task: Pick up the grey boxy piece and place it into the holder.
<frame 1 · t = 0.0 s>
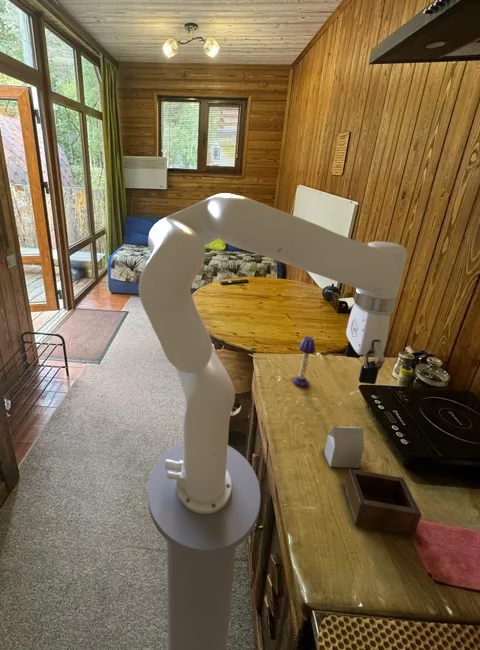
hand: (359, 368, 70), 23 cm above the kitchen counter, tool pointing down, fingers open, 9 cm apart
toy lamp: (301, 383, 101), on the kitchen counter
grey boxy piece: (341, 460, 74), on the kitchen counter
holder: (376, 510, 63), on the kitchen counter
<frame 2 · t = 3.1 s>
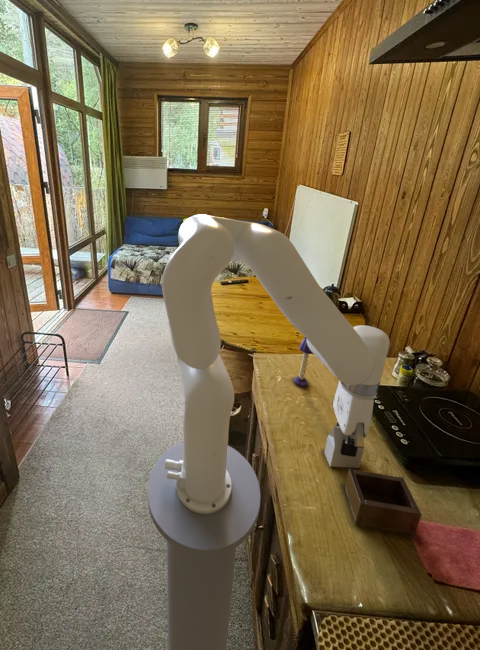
hand: (344, 445, 73), 5 cm above the kitchen counter, tool pointing down, fingers closed on grey boxy piece, 4 cm apart
grey boxy piece: (341, 460, 74), on the kitchen counter, touching gripper
everything else where it was.
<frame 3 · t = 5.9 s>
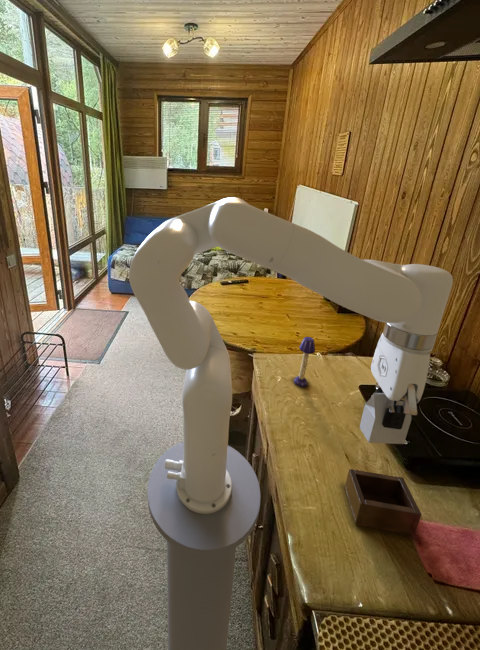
hand: (386, 416, 60), 21 cm above the kitchen counter, tool pointing down, fingers closed on grey boxy piece, 4 cm apart
grey boxy piece: (380, 436, 61), point 16 cm above the kitchen counter, touching gripper
everything else where it was.
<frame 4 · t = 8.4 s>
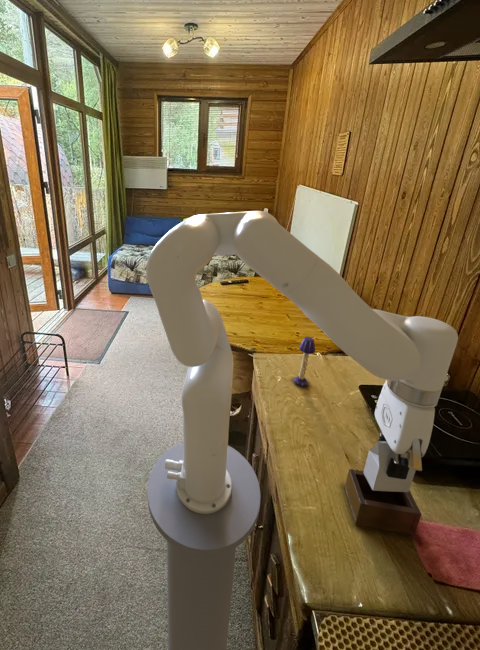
hand: (390, 464, 59), 13 cm above the kitchen counter, tool pointing down, fingers closed on grey boxy piece, 4 cm apart
grey boxy piece: (385, 482, 61), point 8 cm above the kitchen counter, touching gripper
everything else where it was.
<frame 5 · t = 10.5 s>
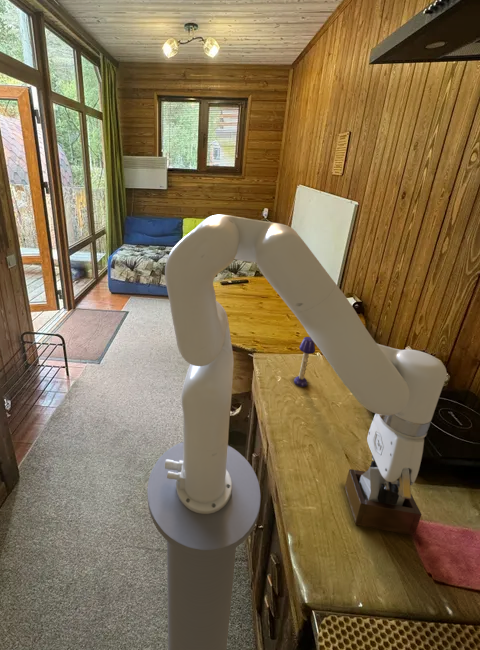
hand: (381, 488, 61), 6 cm above the kitchen counter, tool pointing down, fingers closed on grey boxy piece, 4 cm apart
grey boxy piece: (376, 506, 63), point 1 cm above the kitchen counter, touching gripper
everything else where it was.
when the fingers open (7 cm above the kitchen counter, at t = 14.1 s): grey boxy piece moves 1 cm, resting on holder.
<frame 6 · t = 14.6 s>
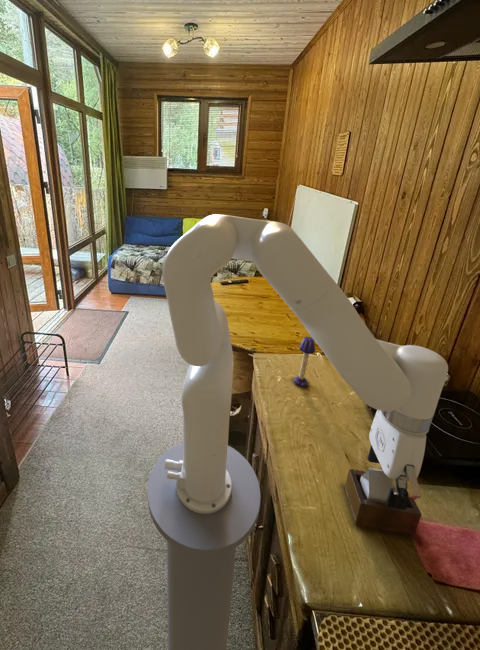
hand: (385, 482, 61), 8 cm above the kitchen counter, tool pointing down, fingers open, 8 cm apart
grey boxy piece: (376, 508, 63), point 1 cm above the kitchen counter, touching holder
everything else where it was.
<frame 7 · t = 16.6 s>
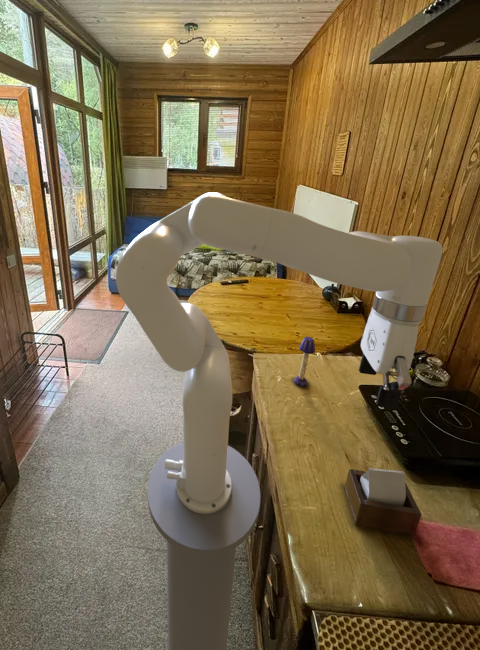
hand: (375, 388, 59), 27 cm above the kitchen counter, tool pointing down, fingers open, 9 cm apart
nothing on the kitchen counter moved.
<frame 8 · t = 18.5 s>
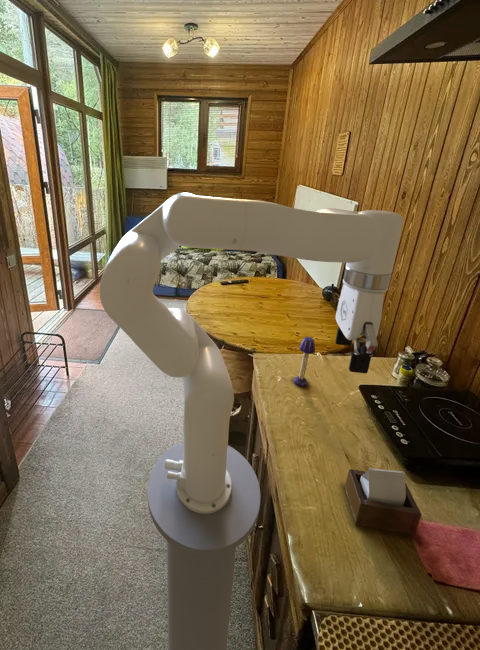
hand: (349, 357, 63), 30 cm above the kitchen counter, tool pointing down, fingers open, 9 cm apart
nothing on the kitchen counter moved.
at the end: grey boxy piece 0.2 cm off-centre in the holder, point 0.6 cm above the holder's base; grey boxy piece tilted 0°; the gripper is holding nothing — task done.
